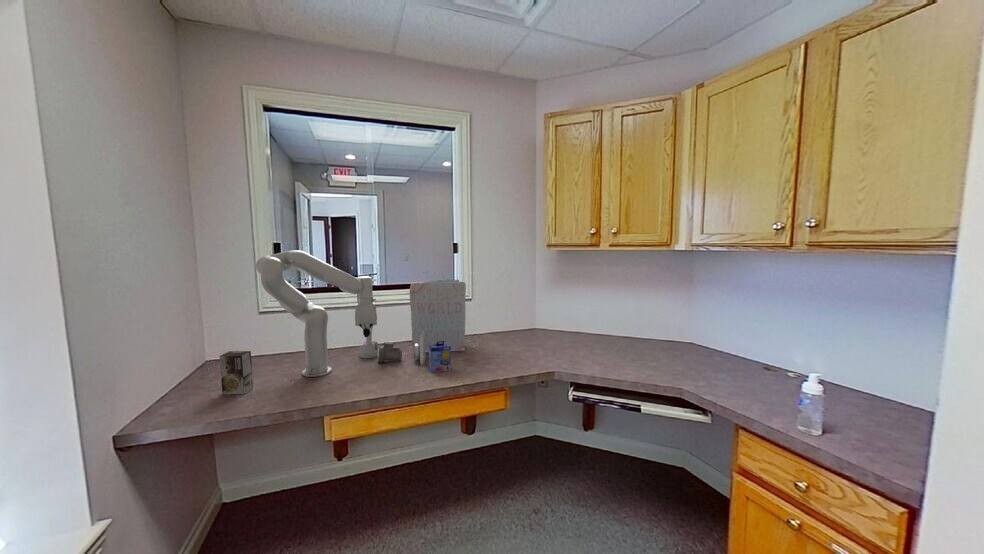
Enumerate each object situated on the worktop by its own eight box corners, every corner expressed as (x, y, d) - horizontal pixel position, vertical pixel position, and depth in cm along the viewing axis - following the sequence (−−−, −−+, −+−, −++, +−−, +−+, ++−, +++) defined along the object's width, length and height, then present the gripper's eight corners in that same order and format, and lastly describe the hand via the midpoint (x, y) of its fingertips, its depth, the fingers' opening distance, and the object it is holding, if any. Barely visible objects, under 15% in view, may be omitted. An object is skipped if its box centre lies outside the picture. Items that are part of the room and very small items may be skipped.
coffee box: (253, 388, 161) (251, 350, 159) (244, 394, 155) (242, 355, 153) (231, 388, 161) (229, 350, 159) (221, 394, 154) (218, 355, 153)
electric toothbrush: (356, 357, 204) (375, 358, 204) (355, 319, 202) (374, 319, 202) (363, 351, 215) (381, 352, 214) (362, 315, 213) (380, 315, 212)
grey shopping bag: (410, 347, 229) (409, 279, 226) (463, 344, 235) (462, 278, 233) (410, 354, 212) (408, 281, 210) (466, 350, 218) (465, 280, 216)
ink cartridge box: (430, 372, 182) (430, 342, 180) (428, 369, 187) (428, 339, 185) (451, 370, 185) (451, 341, 184) (448, 367, 190) (448, 338, 189)
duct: (423, 364, 193) (423, 337, 192) (413, 365, 193) (412, 337, 191) (425, 356, 207) (425, 330, 206) (416, 356, 206) (415, 331, 205)
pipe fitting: (376, 363, 193) (378, 343, 193) (377, 360, 200) (379, 340, 200) (401, 365, 195) (403, 344, 196) (400, 361, 203) (402, 342, 203)
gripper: (381, 299, 199) (383, 334, 201) (351, 300, 197) (353, 335, 200) (378, 301, 191) (380, 338, 193) (347, 302, 190) (349, 339, 192)
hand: (366, 336), depth 196 cm, fingers closed
